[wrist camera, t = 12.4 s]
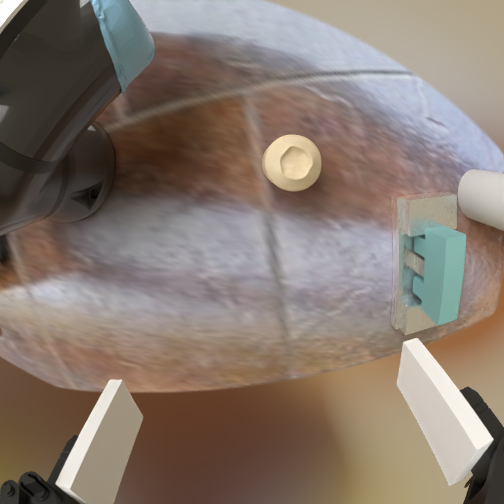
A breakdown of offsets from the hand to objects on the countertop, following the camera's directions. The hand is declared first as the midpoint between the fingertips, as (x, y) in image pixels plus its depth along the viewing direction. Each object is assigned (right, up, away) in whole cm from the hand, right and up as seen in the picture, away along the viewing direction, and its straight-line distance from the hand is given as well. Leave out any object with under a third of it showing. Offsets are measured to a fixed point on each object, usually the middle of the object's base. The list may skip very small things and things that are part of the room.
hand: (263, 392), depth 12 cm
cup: (+35, +16, +23) cm, 45 cm away
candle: (+3, +17, +23) cm, 29 cm away
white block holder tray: (+25, +5, +26) cm, 37 cm away
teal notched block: (+25, +5, +25) cm, 36 cm away
